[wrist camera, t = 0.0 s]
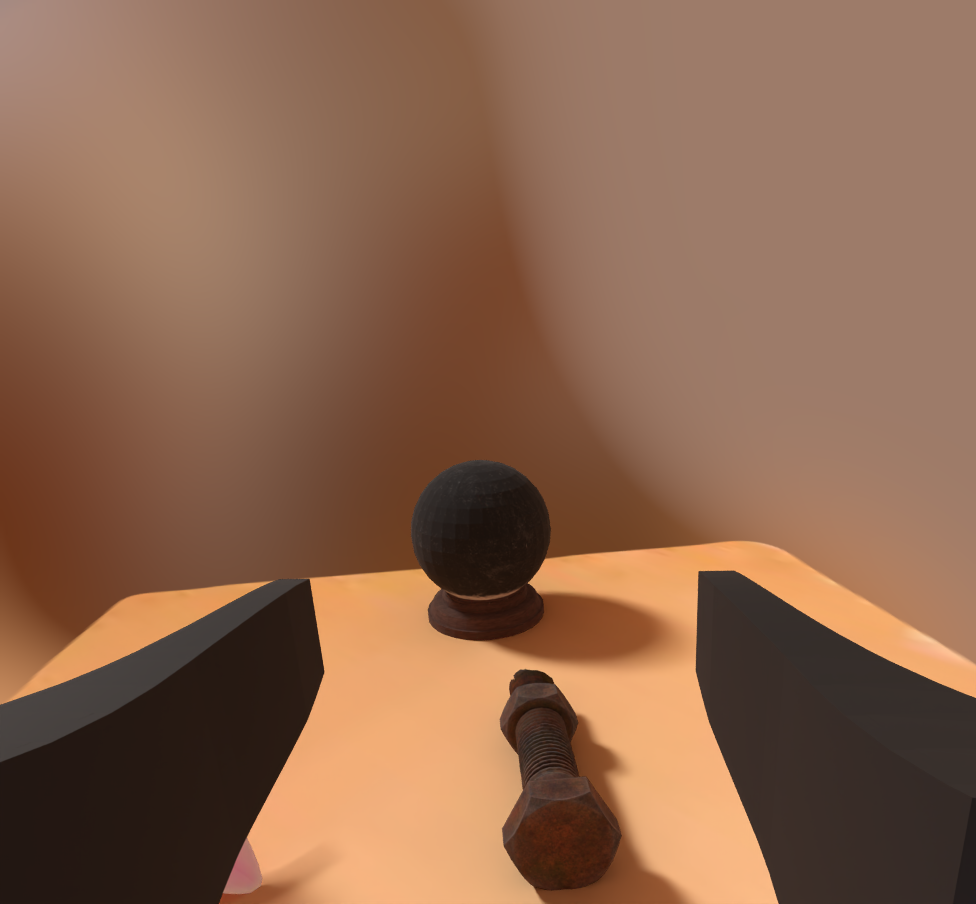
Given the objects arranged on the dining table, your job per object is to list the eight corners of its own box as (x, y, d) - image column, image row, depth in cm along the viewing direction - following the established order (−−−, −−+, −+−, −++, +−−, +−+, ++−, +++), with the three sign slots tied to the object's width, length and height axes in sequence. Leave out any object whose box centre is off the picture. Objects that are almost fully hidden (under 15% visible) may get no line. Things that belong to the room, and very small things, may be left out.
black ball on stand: (528, 577, 69) (521, 443, 66) (575, 630, 57) (570, 467, 54) (409, 596, 66) (396, 456, 63) (431, 657, 53) (417, 486, 50)
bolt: (543, 731, 46) (582, 913, 31) (481, 704, 45) (490, 876, 30) (580, 664, 45) (638, 817, 30) (518, 636, 45) (545, 777, 30)
